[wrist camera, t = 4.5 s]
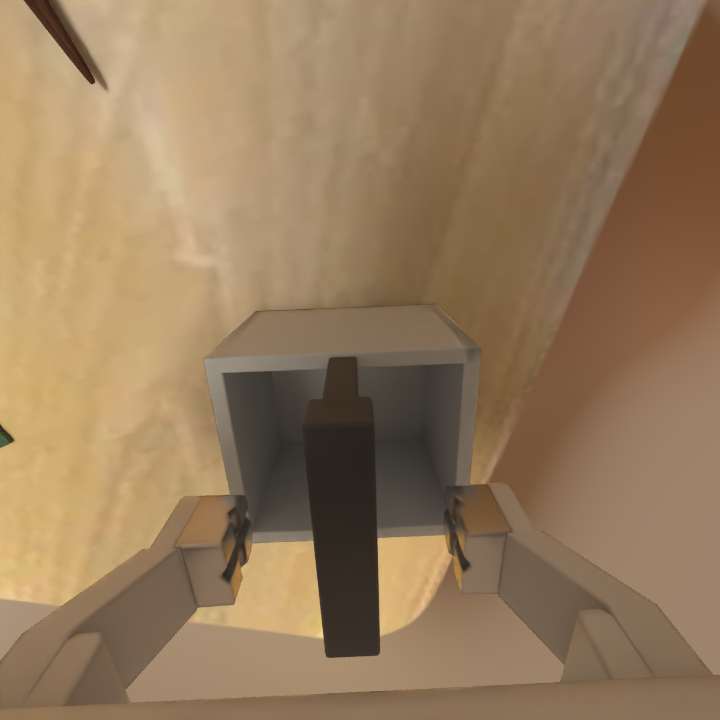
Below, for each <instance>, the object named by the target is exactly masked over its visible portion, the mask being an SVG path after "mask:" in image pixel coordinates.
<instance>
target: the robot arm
mask: <svg viewBox="0 0 720 720" xmlns="http://www.w3.org/2000/svg"><path fill="white" fill-rule="evenodd" d="M445 501H446V504H447V507H448V509H447V510H446V511H445V512H444V533H445V539H446V544H447V547H448V551H449V553H450V554H451V555H453V556H454V571H455V574H456V578H457V581H458V584H459V587H460V590H461V594H499V597H500V598H501V599H502V600H503V601H504V602H505V603H506V604H507V605H508V606H509V607H510V608H511V609H512V610H513V612H514V613H515V614H516V615H517V616H518V617H519V618H520V619H521V620H522V621H523V622H524V623H525V624H526V625H527V626H528V627H529V628H530V629H531V630H532V632H533V633H535V635H536V636H537V637H538V638H539V639H540V640H541V641H542V642H543V643H544V644H545V645H546V646H547V647H548V648H549V649H550V650H551V651H552V653H553V654H554V655H555V656H556V657H557V658H558V659H559V660H560V661H561V662H562V663H563V664H564V665H565V666H564V670H563V674H562V678H561V681H560V682H555V683H535V684H514V685H494V686H473V687H453V688H434V689H433V688H432V689H411V690H392V691H371V692H349V693H328V694H307V695H286V696H265V697H243V698H224V699H223V698H222V699H201V700H180V701H159V702H138V703H131V702H130V699H129V697H128V695H127V693H126V689H127V688H128V687H129V685H130V684H131V683H132V682H133V681H134V680H135V679H136V678H137V676H138V675H139V674H140V673H141V672H142V671H143V670H144V669H145V667H146V666H147V665H148V664H149V663H150V662H151V661H152V660H153V659H154V657H155V656H156V655H157V654H158V653H159V652H160V651H161V650H162V649H163V647H164V646H165V645H166V644H167V643H168V642H169V641H170V640H171V638H172V637H173V636H174V635H175V634H176V633H177V632H178V631H179V629H180V628H181V627H182V626H183V625H184V624H185V623H186V622H187V621H188V619H189V618H190V617H191V616H192V615H193V614H194V613H195V612H196V611H197V608H198V607H211V606H224V605H234V604H235V601H236V597H237V594H238V591H239V588H240V585H241V582H242V578H243V577H242V572H241V567H242V566H243V565H245V564H246V563H247V562H248V559H249V555H250V552H251V546H252V525H251V521H250V520H249V519H248V518H247V517H246V516H245V515H246V513H247V510H248V504H247V499H246V497H245V496H244V495H214V496H185V497H184V498H182V499H181V500H180V501H179V503H178V504H177V506H176V507H175V509H174V511H173V512H172V514H171V515H170V517H169V518H168V520H167V522H166V523H165V525H164V526H163V528H162V530H161V531H160V533H159V534H158V536H157V538H156V539H155V541H154V542H153V544H152V545H151V547H150V549H143V550H141V551H140V552H138V553H137V554H135V555H134V556H133V557H131V558H130V559H128V560H127V561H125V562H124V563H123V564H121V565H120V566H118V567H117V568H115V569H114V570H113V571H111V572H110V573H108V574H107V575H105V576H104V577H103V578H101V579H100V580H98V581H97V582H95V583H94V584H93V585H91V586H90V587H88V588H87V589H85V590H84V591H83V592H81V593H80V594H78V595H77V596H75V597H74V598H73V599H71V600H70V601H68V602H67V603H65V604H64V605H63V606H61V607H60V608H58V609H57V610H55V611H54V612H53V613H51V614H50V615H48V616H47V617H45V618H44V619H43V620H41V621H40V622H38V623H37V624H35V625H34V626H33V627H31V628H30V629H28V630H27V631H25V632H24V633H23V634H22V635H21V636H20V637H19V638H18V640H17V641H16V642H15V643H14V645H13V646H12V647H11V648H10V650H9V651H8V652H7V653H6V654H5V656H4V657H3V658H2V660H1V661H0V720H720V675H713V674H712V673H711V671H710V670H709V669H708V668H707V666H706V665H705V664H704V663H703V661H702V660H701V659H700V658H699V656H698V655H697V654H696V653H695V652H694V650H693V649H692V648H691V646H690V645H689V644H688V643H687V641H686V640H685V639H684V638H683V637H682V635H681V634H680V633H679V632H678V630H677V629H676V628H675V627H674V625H673V624H672V623H671V621H670V620H669V619H668V618H667V616H666V615H665V614H664V613H663V611H662V610H661V609H660V608H659V607H658V605H657V604H655V603H653V602H652V601H650V600H649V599H647V598H646V597H644V596H643V595H641V594H640V593H638V592H636V591H635V590H633V589H632V588H630V587H629V586H627V585H625V584H624V583H623V582H621V581H619V580H618V579H616V578H615V577H613V576H612V575H610V574H608V573H607V572H606V571H604V570H602V569H601V568H599V567H598V566H596V565H595V564H593V563H592V562H590V561H589V560H587V559H585V558H584V557H582V556H581V555H579V554H578V553H576V552H575V551H573V550H571V549H570V548H568V547H567V546H565V545H564V544H562V543H561V542H559V541H558V540H556V539H555V538H553V537H551V536H550V535H548V534H547V533H545V532H544V531H541V532H537V530H536V529H535V527H534V526H533V524H532V522H531V521H530V519H529V517H528V516H527V514H526V513H525V511H524V509H523V508H522V506H521V504H520V503H519V501H518V499H517V498H516V496H515V495H514V493H513V491H512V490H511V488H510V486H509V485H508V484H507V483H505V482H503V483H487V484H477V485H458V486H446V490H445Z"/></svg>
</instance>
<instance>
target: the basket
mask: <svg viewBox="0 0 720 720" xmlns="http://www.w3.org/2000/svg"><path fill="white" fill-rule="evenodd" d="M480 359H481V347H480V346H479V345H478V344H477V343H476V342H475V341H474V340H473V339H472V338H471V337H470V336H469V335H468V334H467V333H466V332H465V331H463V330H462V329H461V328H460V327H459V326H458V325H457V324H456V323H455V322H454V321H453V320H452V319H451V318H450V317H449V316H448V315H447V314H446V313H445V312H444V311H443V310H441V309H440V308H439V307H438V306H437V305H436V304H434V305H408V306H383V307H357V308H332V309H306V310H281V311H256V312H255V313H253V314H252V315H251V316H250V317H249V318H248V319H247V320H246V321H245V322H243V323H242V324H241V325H240V326H239V327H238V328H237V329H236V330H235V331H233V332H232V333H231V334H230V335H229V336H228V337H227V338H226V339H225V340H223V341H222V342H221V343H220V344H219V345H218V346H217V347H216V348H215V349H213V350H212V351H211V352H210V353H209V354H208V355H207V356H206V357H205V358H204V359H203V361H204V366H205V371H206V376H207V381H208V386H209V391H210V396H211V401H212V406H213V411H214V416H215V421H216V426H217V431H218V436H219V441H220V446H221V451H222V456H223V461H224V466H225V471H226V476H227V481H228V486H229V491H230V495H244V496H245V497H246V499H247V504H248V510H247V513H246V515H245V516H246V517H247V518H248V519H249V520H250V521H251V525H252V543H270V542H293V541H314V551H315V560H316V570H317V579H318V589H319V598H320V608H321V617H322V627H323V636H324V645H325V654H326V657H329V658H335V657H356V656H377V655H379V653H380V626H379V585H378V544H377V538H387V537H410V536H433V535H445V533H444V512H445V511H446V510H447V509H448V507H447V504H446V501H445V490H446V486H458V485H470V475H471V463H472V452H473V440H474V428H475V417H476V405H477V394H478V382H479V371H480Z"/></svg>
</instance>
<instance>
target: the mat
mask: <svg viewBox="0 0 720 720" xmlns="http://www.w3.org/2000/svg"><path fill="white" fill-rule="evenodd" d="M12 441H13V440H12V439H11V438H10V437H9V436H8V435H7V434H6V433H5V432H4V430H3V429H2V428H1V427H0V447H3V446H5V445H7V444H9V443H11V442H12Z"/></svg>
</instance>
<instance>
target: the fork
mask: <svg viewBox="0 0 720 720" xmlns="http://www.w3.org/2000/svg"><path fill="white" fill-rule="evenodd" d="M24 1H25V3H26V4H27V5H28V6H29V8H30V9H31V10H32V11H33V13H34V14H35V15H36V16H37V18H38V19H39V20H40V22H41V23H42V24H43V25H44V27H45V28H46V29H47V30H48V32H49V33H50V34H51V35H52V37H53V38H54V39H55V41H56V42H57V43H58V44H59V46H60V47H61V48H62V50H63V51H64V52H65V53H66V55H67V56H68V57H69V58H70V60H71V61H72V62H73V63H74V65H75V66H76V67H77V68H78V69H79V71H80V72H81V73H82V74H83V76H84V77H85V78H86V79H87V80H88V81H89V82H90V83H91V84H93V83H95V79H94V77H93V75H92V74H91V72H90V70H89V68H88V66H87V65H86V63H85V61H84V60H83V58H82V56H81V54H80V53H79V51H78V49H77V48H76V46H75V44H74V43H73V41H72V39H71V38H70V36H69V34H68V33H67V31H66V29H65V28H64V26H63V24H62V23H61V21H60V20H59V18H58V16H57V15H56V13H55V11H54V10H53V8H52V6H51V5H50V3H49V1H48V0H24Z"/></svg>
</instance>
